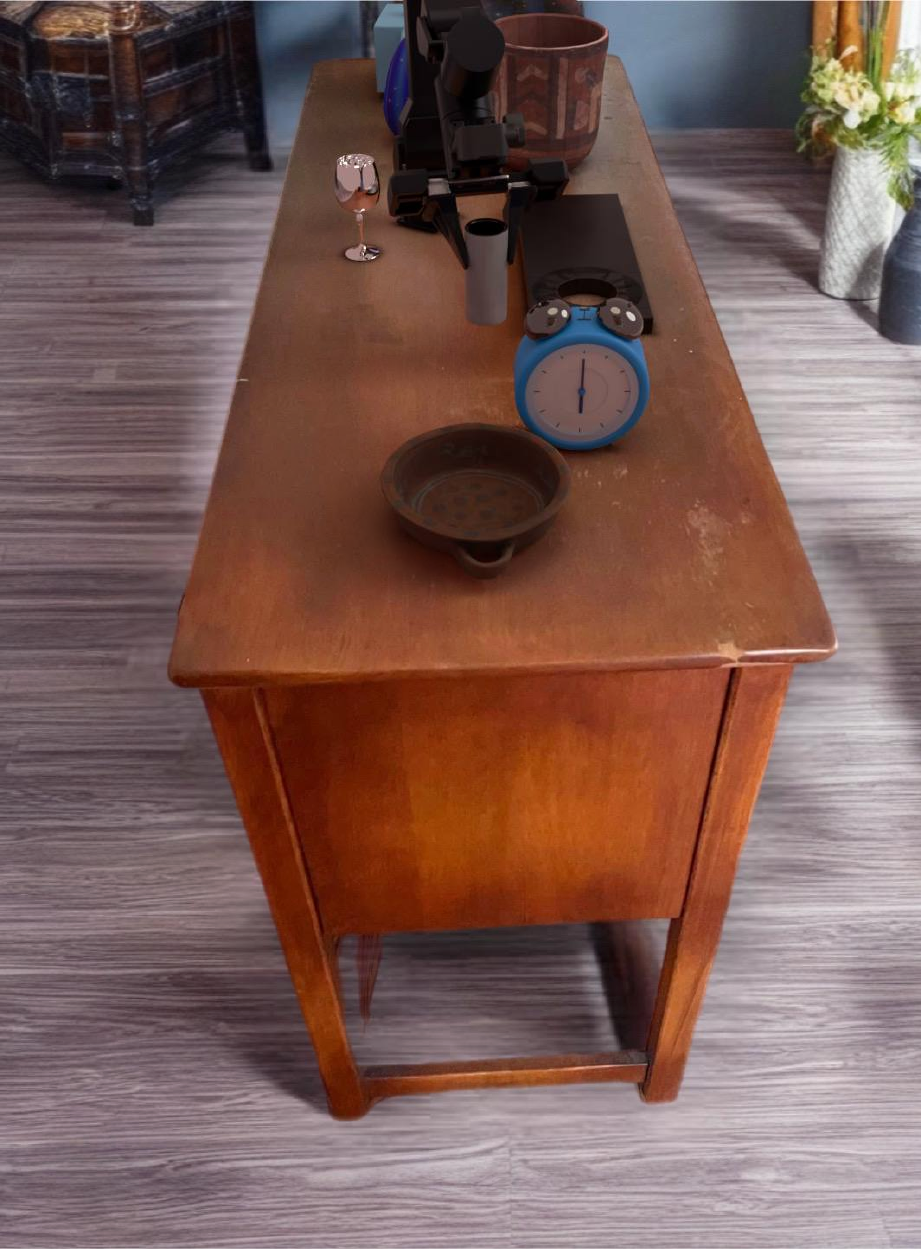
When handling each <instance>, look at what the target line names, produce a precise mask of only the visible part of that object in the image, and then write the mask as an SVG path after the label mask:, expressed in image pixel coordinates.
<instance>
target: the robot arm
mask: <svg viewBox="0 0 921 1249" xmlns="http://www.w3.org/2000/svg"><path fill="white" fill-rule="evenodd" d="M402 4H403V9H404V26H405V42H406V59H407V75H408V91H409V98H408V100H407V102H406V104H405V106H404V108H403V110H402V112H401V114H400V116H399V119H398V128H399V135H398V136H394V139H393V148H392V154H391V156H392V166H393V167H392V168H393V171H392V173H391V175H390V176H389V178H388V183H387V190H386V199H387V202H386V203H387V209H388V215H389V217H393V218H397V219H396V224H399V225H403V226H408V227H411V228H414V229H418V230H423V231H427V232H431V233H437V232H439V233H440V234H441V236H443V238H444V239H445V240H446V242H447V243H448V245H449V247H450V248H451V250H452V253H453V254H454V256H455V257H456V259H457V260H458V262H459V264H460V266H461V268H462V269H463V270H464V271H465V270H467V269H468V266H469V265H468V256H467V250H466V246H465V237H464V234H463V229H462V226H461V222H460V215H461V214H460V211H458V206H457V205H458V204H457V198H464V197H465V198H466V197H477V196H486V195H487V196H489V195H498V194H504V197H505V202H504V204H503V208H502V213H501V214H502V221H503V222H505V223H506V224H507V226H508V262H507V266H512V265H513V264H514V263H515V262H514V261H515V256H516V249H517V244H518V238H519V226H520V221H521V218H522V214H523V212H527V211H529V210H530V208H531V206H532V204H540V203H551V202H555V201H558V200H560V198H561V196H562V195H564V192H565V190H566V188H567V186H568V184H569V182H570V172H569V170H568V166H567V164H566V162H565V161H564V160H563V159H562V158H561V157H560V156H559V157H548V158H536V159H529V160H528V163H527V165H526V167H525V170H524V172H522V171H518V172H505V173H503V169H504V168H507V157H509V149H511V148H521V147H523V146H525V145H526V132H525V124H524V118H523V113H515V114H506V115H505V116H503V117H502V123H498V124H497V122H496V119H495V116H494V113H493V106H492V100H491V93H490V91H492V90H493V88H494V86H495V82H496V79H497V76H498V72H499V69H500V65H501V62H502V59H503V55H504V52H505V39H504V36H503V33H502V32H501V30H500V29H499V28H498V27H497V26H496V25H495V22H494V21H493V19H492V17H491V15H490V13H489V12H486V11H485V7H484V4H483V1H482V0H402ZM441 63H442V68H441ZM502 168H503V169H502Z"/></svg>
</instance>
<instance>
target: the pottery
mask: <svg viewBox="0 0 921 1249" xmlns="http://www.w3.org/2000/svg"><path fill="white" fill-rule="evenodd" d="M494 22H495V25H496V26H497V27H498V28H499V29H500V30H501V32H502V33H503V36H504V39H505V52H504V55H503V59H502V62H501V65H500V69H499V72H498V76H497V79H496V82H495V86H494V88H493V90H492V91H490V93H491V100H492V106H493V113H494V116H495V119H496V122H497V124H498V123H502V117H503V116H505V115H506V114H515V113H523V118H524V124H525V132H526V145H525V146H523V147H521V148H511V149H509V157H507V164H506V166H508V167H510V168H511V169H513V170H516V171H518V172H524V170H525V167H526V165H527V163H528V160H529V159H536V158H548V157H559V156H560V157H561V158H562V159H563V160H564V161H565V162H566V164H567V166H568V171H569V170H573V169H575V168H576V167H578V166H579V165H580V164H581V163H582V162H583V161H584V160H585V159H586V158H587V157H588V156H589V155H590V153H591V151H592V149H593V148H594V146H595V144H596V141H597V138H598V134H599V129H600V122H601V109H602V94H603V93H602V90H603V82H604V72H605V67H606V61H607V60H606V59H607V56H608V49H609V41H610V30H609V29H608V28H607V27H606V26H605V25H604V24H602V23H600V22H598V21H595V20H593V19H591V18H588V17H584V18H583V17H579V16H574V15H565V14H555V13H532V14H521V15H514V16H509V17H505V18H501V19H498V20H496V21H494Z"/></svg>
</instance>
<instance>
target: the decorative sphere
mask: <svg viewBox="0 0 921 1249" xmlns="http://www.w3.org/2000/svg"><path fill="white" fill-rule="evenodd" d="M482 1H483V4H484V7H485V11H486V12H489V13H490V15H491V17H492V19H493V21H496V20H498V19H501V18H505V17H509V16H514V15H521V14H532V13H555V14H565V15H574V16H579V17H583V18H585V15H584V11H583V9H582V7H581V5H580V3H579V1H578V0H482Z"/></svg>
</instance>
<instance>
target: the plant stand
mask: <svg viewBox="0 0 921 1249" xmlns="http://www.w3.org/2000/svg"><path fill="white" fill-rule="evenodd" d="M623 210H624V209H623V207H622V204H621V199H620V196H619V193H583V194H582V193H581V194H577V193H576V194H562V196H561V198H560V200H558V201H555V202H551V203H540V204H532V206H531V208H530V210H529V211H527V212H523V214H522V218H521V221H520V226H519V232H518V238H519V246H520V253H521V262H522V270H523V271H522V272H523V278H524V279H523V280H524V285H525V286H524V287H525V294H526V302H527V311H529V310H530V309H531V308H532V307H533V306H534V305H535V304H537V303H538V302H540V301H542V300H545V299H550V298H555V299H560V300H563V301H565V302H566V303H567V304H568V305H569V306H570V308H571V307H594V308H597V307H598V306H599V304H600V303H598V304H588V305H587V304H586V305H585V304H580V303H579V304H578V303H572V302H570V301H567V300H566V299H564V298H566V297H567V296H571V295H576V294H593V295H599V296H602V297H605V298H607V299H609V298H621V299H624V300H627V301H629V302H630V301H631V302H632V304H633V305H634V306H635V307H636V308H637V309H638V310H639V312H640V313H641V315H642V318H643V331H642V333H641V334H653V327H654V315H653V311H652V308H651V304H650V300H649V297H648V294H647V291H646V287H645V283H644V279H643V277H642V273H641V269H640V266H639V263H638V262H639V261H638V259H637V256H636V252H635V249H634V246H633V242H632V238H631V235H630V231H629V228H628V225H627V221H626V217H625V214H624V211H623Z"/></svg>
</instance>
